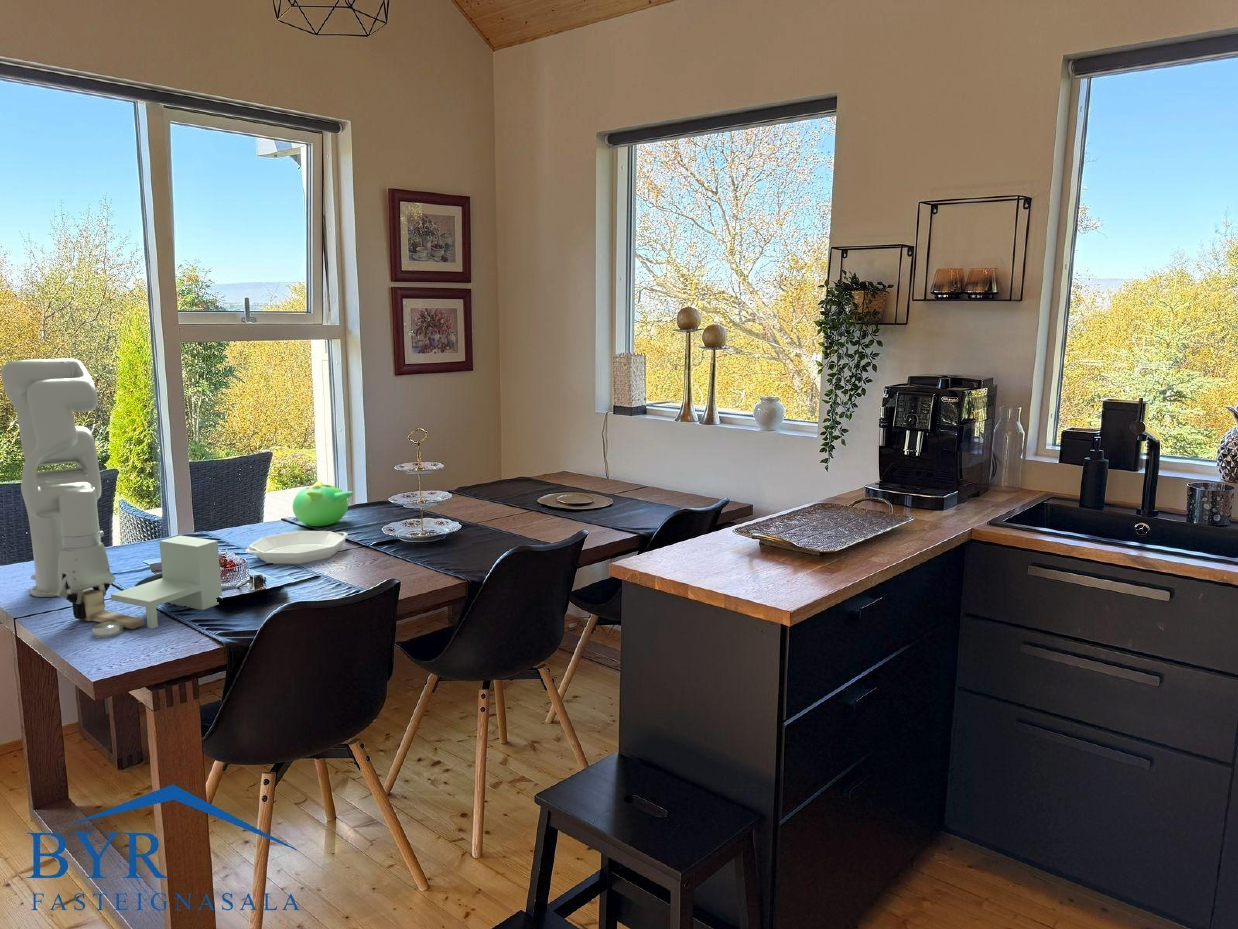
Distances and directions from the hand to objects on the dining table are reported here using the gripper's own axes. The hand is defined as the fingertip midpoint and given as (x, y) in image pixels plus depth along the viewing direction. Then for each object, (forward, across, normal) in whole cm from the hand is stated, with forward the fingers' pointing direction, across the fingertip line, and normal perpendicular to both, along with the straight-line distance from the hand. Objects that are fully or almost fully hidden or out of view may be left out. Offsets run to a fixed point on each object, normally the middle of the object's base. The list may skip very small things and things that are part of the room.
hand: (89, 614), depth 208 cm
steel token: (+1, +4, +12) cm, 13 cm away
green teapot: (+1, -94, -15) cm, 96 cm away
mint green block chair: (+2, -33, -9) cm, 35 cm away
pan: (+2, -64, +4) cm, 64 cm away
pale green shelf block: (+1, -12, +12) cm, 17 cm away
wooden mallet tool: (0, 0, +7) cm, 7 cm away
